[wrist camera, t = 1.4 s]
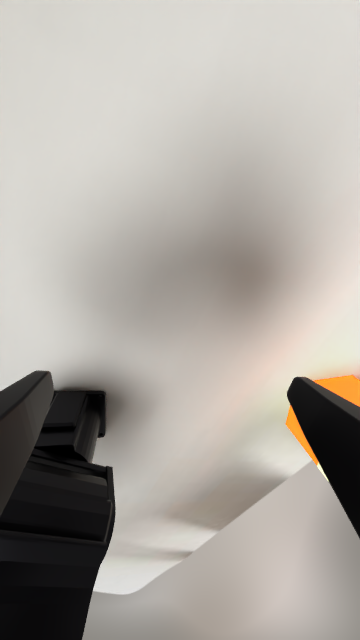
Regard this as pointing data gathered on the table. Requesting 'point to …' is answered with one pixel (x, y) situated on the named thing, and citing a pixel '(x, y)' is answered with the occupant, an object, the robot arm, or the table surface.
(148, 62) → the table surface
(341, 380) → the orange juice
